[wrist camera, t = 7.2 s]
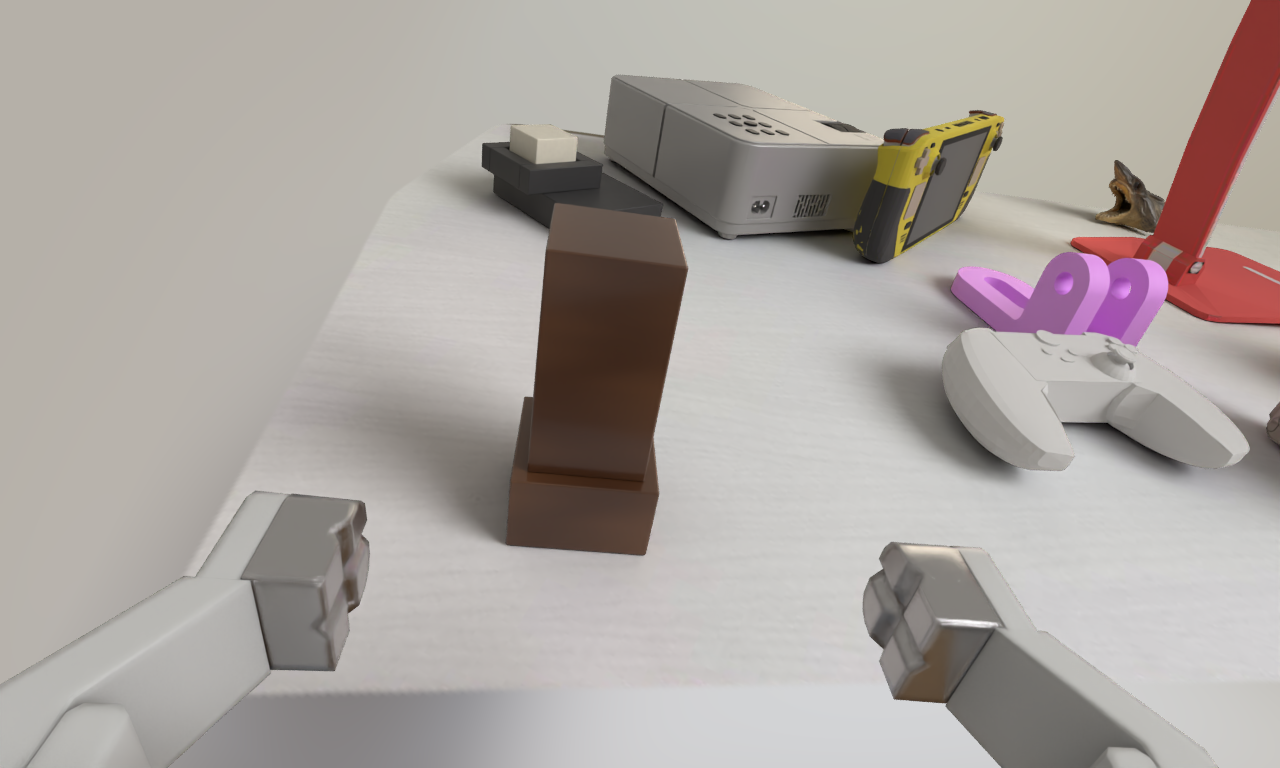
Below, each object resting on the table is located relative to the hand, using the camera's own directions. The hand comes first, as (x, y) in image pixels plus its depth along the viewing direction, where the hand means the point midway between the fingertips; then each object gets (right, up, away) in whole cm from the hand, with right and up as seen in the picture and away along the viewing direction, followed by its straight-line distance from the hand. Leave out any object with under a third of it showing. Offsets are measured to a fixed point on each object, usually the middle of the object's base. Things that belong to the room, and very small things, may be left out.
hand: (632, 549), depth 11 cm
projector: (+8, +20, +54) cm, 58 cm away
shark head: (+53, +20, +67) cm, 88 cm away
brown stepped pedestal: (-2, -2, +16) cm, 16 cm away
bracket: (+27, +7, +38) cm, 47 cm away
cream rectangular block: (-7, +19, +41) cm, 46 cm away
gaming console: (+25, +16, +52) cm, 60 cm away
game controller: (+22, 0, +26) cm, 35 cm away
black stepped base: (-5, +16, +43) cm, 46 cm away
